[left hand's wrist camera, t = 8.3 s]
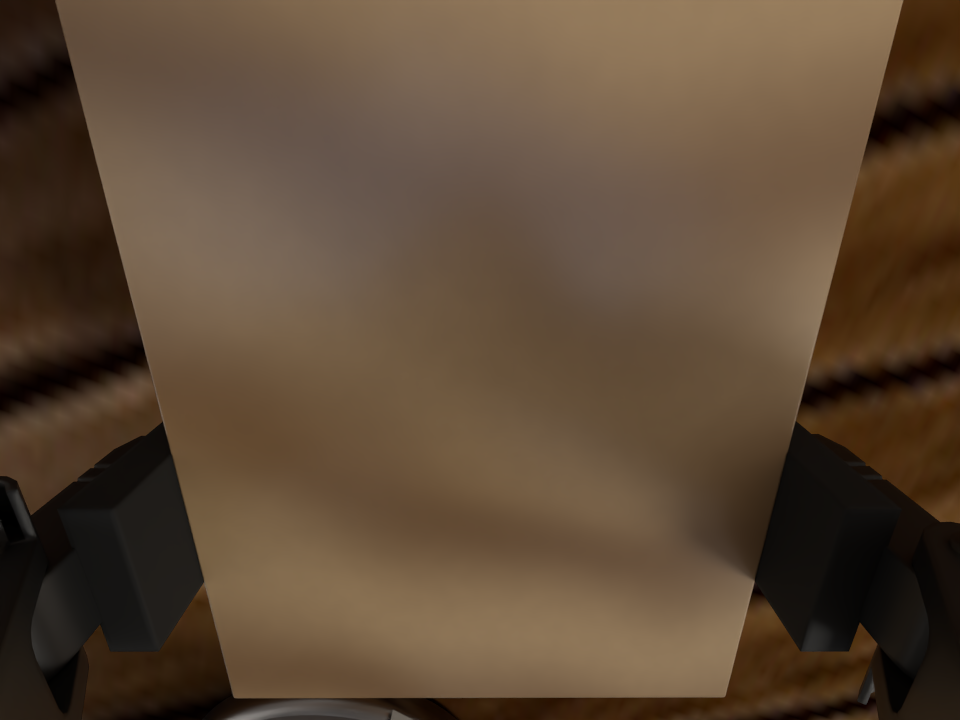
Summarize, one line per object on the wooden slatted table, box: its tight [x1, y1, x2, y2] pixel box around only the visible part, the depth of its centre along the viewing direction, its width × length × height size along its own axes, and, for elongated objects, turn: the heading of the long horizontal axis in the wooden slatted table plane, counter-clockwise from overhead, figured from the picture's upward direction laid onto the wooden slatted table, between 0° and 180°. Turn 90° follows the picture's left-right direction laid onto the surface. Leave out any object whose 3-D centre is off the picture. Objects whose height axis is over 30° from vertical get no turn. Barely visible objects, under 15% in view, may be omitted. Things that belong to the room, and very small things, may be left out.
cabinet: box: [55, 0, 903, 698], centre depth 11 cm, size 21×10×9 cm, turn 0°
